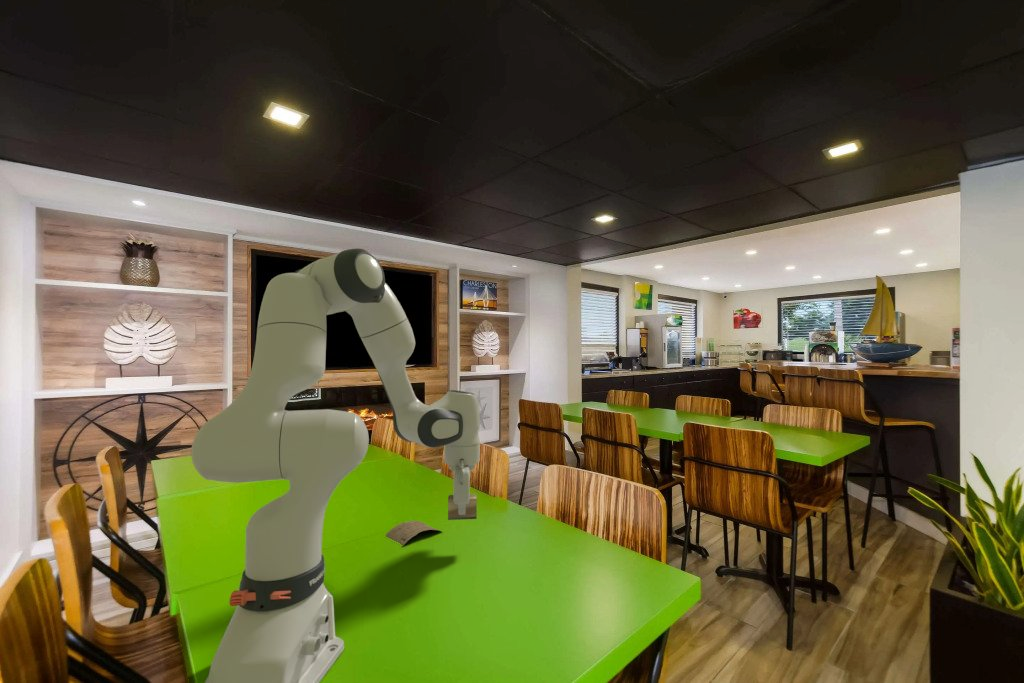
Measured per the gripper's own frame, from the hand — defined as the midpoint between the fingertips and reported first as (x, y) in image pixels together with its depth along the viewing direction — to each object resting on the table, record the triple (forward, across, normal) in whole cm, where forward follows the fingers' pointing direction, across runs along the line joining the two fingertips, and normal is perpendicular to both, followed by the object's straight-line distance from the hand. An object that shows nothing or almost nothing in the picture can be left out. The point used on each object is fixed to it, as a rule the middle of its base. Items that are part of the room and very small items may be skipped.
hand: (462, 510), depth 110 cm
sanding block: (+2, 0, 0) cm, 2 cm away
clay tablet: (+10, +10, +13) cm, 20 cm away
